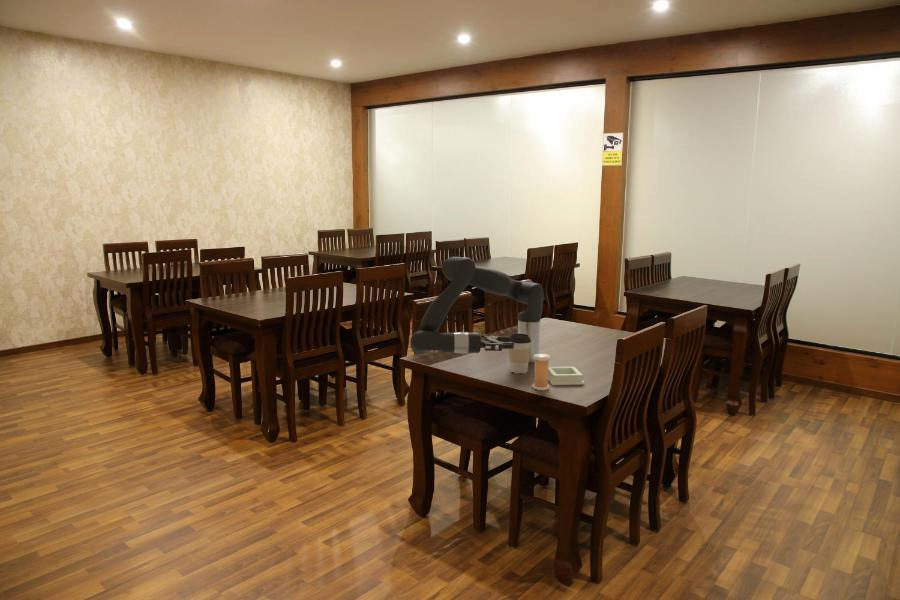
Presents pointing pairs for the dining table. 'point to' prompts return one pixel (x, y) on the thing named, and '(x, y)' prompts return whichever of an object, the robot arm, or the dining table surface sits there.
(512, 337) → the coffee cup
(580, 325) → the dining table surface
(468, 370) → the dining table surface
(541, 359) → the cord spool
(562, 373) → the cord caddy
